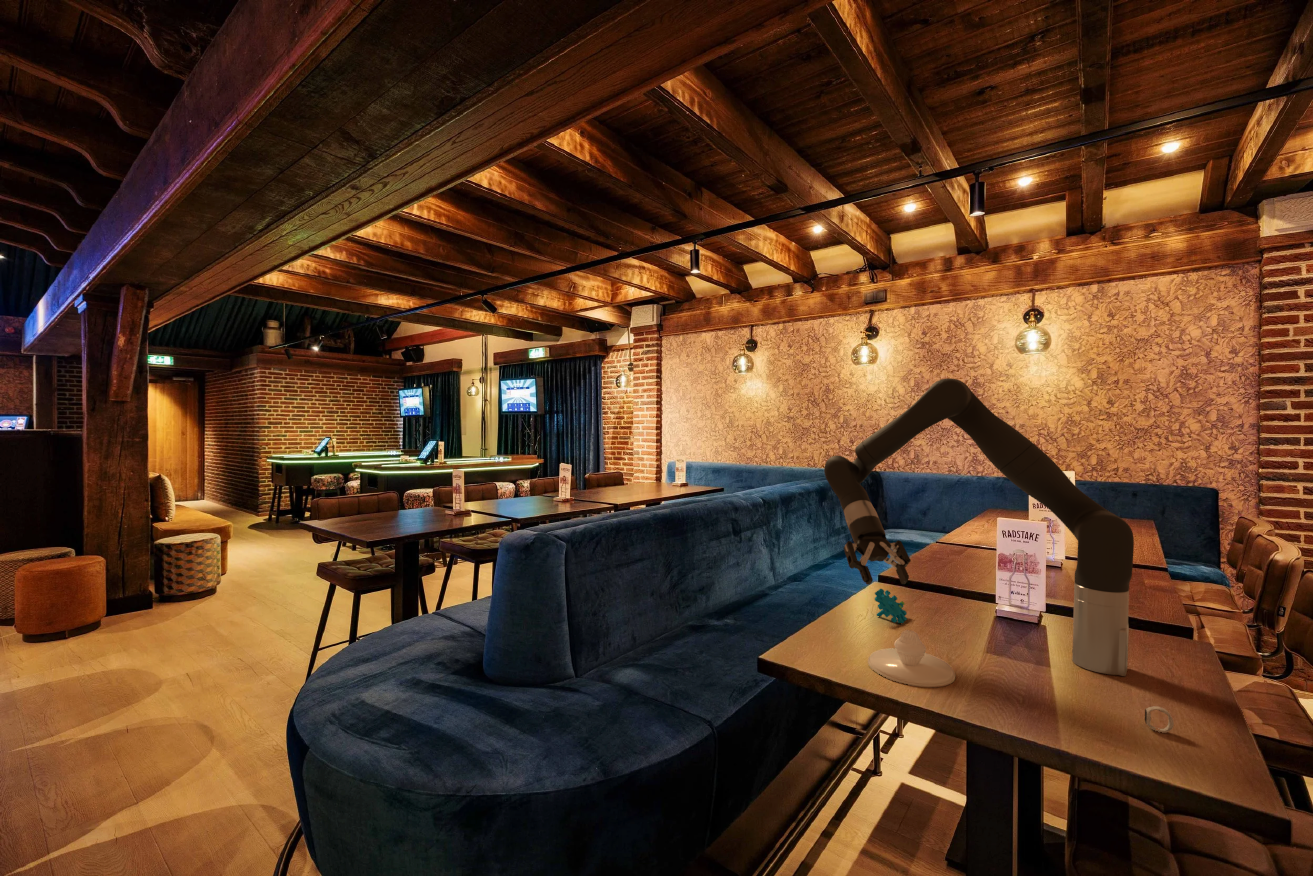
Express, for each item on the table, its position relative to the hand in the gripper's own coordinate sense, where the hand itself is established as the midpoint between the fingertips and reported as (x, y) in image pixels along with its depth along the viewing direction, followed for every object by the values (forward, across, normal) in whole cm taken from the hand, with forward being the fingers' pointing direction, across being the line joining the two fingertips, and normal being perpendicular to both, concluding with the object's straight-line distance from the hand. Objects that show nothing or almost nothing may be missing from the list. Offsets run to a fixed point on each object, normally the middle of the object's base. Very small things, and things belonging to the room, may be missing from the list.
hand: (887, 582), depth 128 cm
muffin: (+17, 0, +4) cm, 17 cm away
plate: (+18, 0, +4) cm, 18 cm away
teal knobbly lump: (-3, +13, +25) cm, 28 cm away
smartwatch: (+37, +28, -15) cm, 49 cm away
